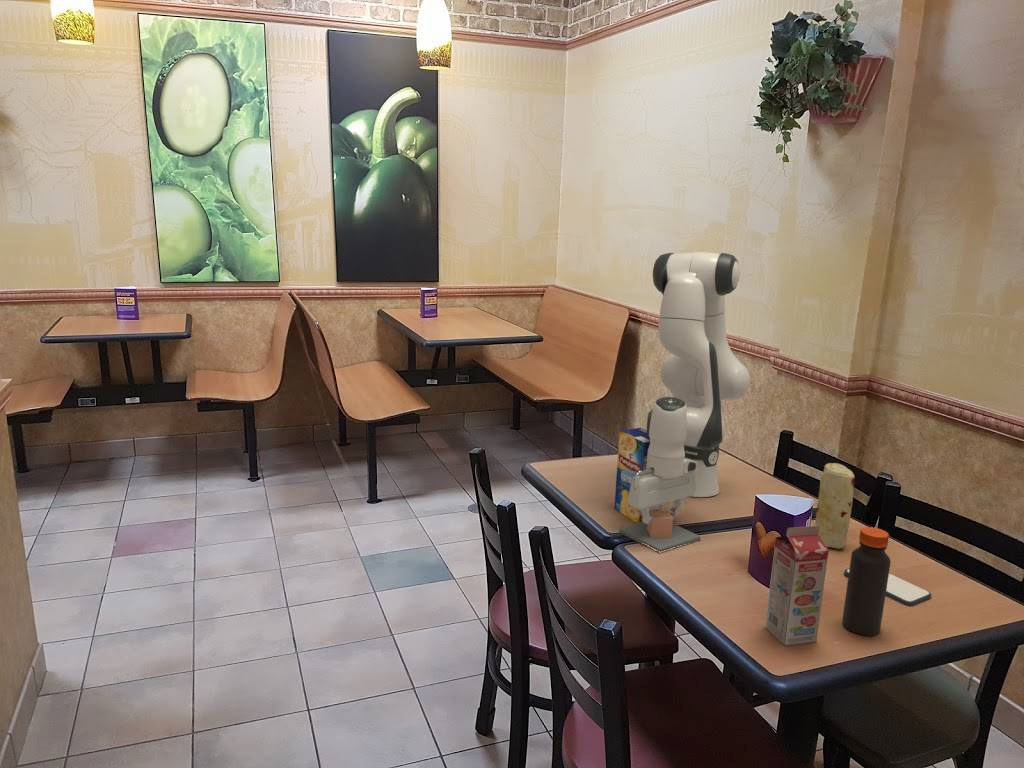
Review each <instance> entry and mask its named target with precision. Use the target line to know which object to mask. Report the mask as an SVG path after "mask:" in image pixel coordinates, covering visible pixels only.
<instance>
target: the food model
mask: <svg viewBox="0 0 1024 768" xmlns="http://www.w3.org/2000/svg"><path fill="white" fill-rule="evenodd" d="M855 480H856V476H855V474H854V472H853V471H852V470H851V469H849V468H847V467H846V466H845V465H843V464H841V463H837V462H833V463H832V462H830V463H829V462H828V463H826V464H825V465H824V468H823V472H822V475H821V478H820V481H819V490H818V496H817V497H818V498H817V508H816V516H815V524H814V526H820V527H819V534H818V535H819V536H820V538H821V539H822V541H823V542H824V544H825V545H826V546H827V548H831V549H832V548H833V549H838V550H839V549H843V548H844V547H845V546H846V544H847V543H846V541H847V536H848V534H849V529H850V522H851V514H852V507H853V499H854V491H855V490H854V489H855Z"/></svg>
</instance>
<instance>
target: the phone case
mask: <svg viewBox="0 0 1024 768" xmlns="http://www.w3.org/2000/svg"><path fill="white" fill-rule="evenodd" d="M849 569H850V567H849V568H846V569H845V570H844V572H843V575H844V577H845V578H847V579H848V576H849ZM885 597H887V598H889V599H891V600H894V601H895V602H898V603H900V604H902V605H904V606H907V607H914V606H917V605H919V604H921V602H922V603H924V602H926V600H927V601H929V600H931V599H932V593H931V592H930V591H928V590H926V589H924V588H922V587H919V586H918V585H915V584H913V583H911V582H909V581H907V580H905V579H902V578H900V577H898V576H896V575H894V574H891V573H890V572H889V576H888V583H887V589H886V596H885Z"/></svg>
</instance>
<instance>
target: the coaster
mask: <svg viewBox="0 0 1024 768" xmlns="http://www.w3.org/2000/svg"><path fill="white" fill-rule="evenodd" d="M618 533H620V534H622V535H623V536H626V537H627V538H629V539H631V540H632V541H635V542H637V543H638V544H641V543H644V544H647V545H649V546H650V547H652V548H654V549H656V550H658V551H660V552H661V551H664V550H667V549H670V548H673V547H677V546H680V545H684V544H687V545H689V544H688V543H690V544H692V543H691V542H693V543H696V542H699V541H701V536H700V535H698V534H696V533H694V532H692V531H690V530H688V529H685V527H684V528H683V527H682V526H679V525H678V524H675V523H673V526H672V538H651V536H650V534H649V532H648V530H647V524H646V523H643V522H640V523H636V522H635V523H634V524H629V525H627V526H623V527H619V528H618ZM698 540H699V541H698ZM695 541H696V542H695ZM684 546H685V545H684Z"/></svg>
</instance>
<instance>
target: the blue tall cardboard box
mask: <svg viewBox="0 0 1024 768" xmlns="http://www.w3.org/2000/svg"><path fill="white" fill-rule="evenodd" d="M646 431H647V429H645V428H642V427H636V428H635V427H634V428H629V429H620V430H619V435H618V436H619V437H618V448H617V464H616V480H615V493H614V495H615V497H614V510H616V511H617V512H619V513H621V514H622V515H623V516H625V517H627V518H628V519H630V520H631V521H632V522H634V523H635V524H636V523H640V522H643V521H642V518H643V515H642V513H641V511H640V510H638V509H635V508H633V507H631V506H630V504H629V503H628V499H629V492H630V487H631V483H632V480H633V477H634V476H635V475H636V474H637V472H638V471H640V470H645V469H646V466H647V453H648V448H649V445H650V438H649V436H648V435H647V433H646ZM661 509H662V504H660V505H656V506H653V507H650V510H656V511H662V510H661Z"/></svg>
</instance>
